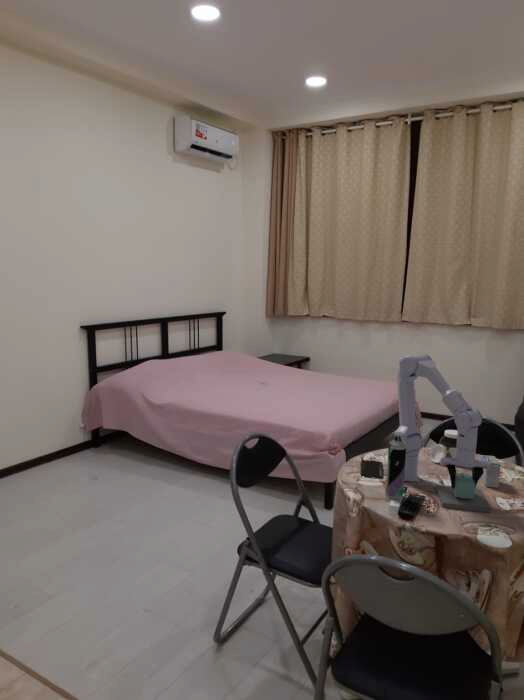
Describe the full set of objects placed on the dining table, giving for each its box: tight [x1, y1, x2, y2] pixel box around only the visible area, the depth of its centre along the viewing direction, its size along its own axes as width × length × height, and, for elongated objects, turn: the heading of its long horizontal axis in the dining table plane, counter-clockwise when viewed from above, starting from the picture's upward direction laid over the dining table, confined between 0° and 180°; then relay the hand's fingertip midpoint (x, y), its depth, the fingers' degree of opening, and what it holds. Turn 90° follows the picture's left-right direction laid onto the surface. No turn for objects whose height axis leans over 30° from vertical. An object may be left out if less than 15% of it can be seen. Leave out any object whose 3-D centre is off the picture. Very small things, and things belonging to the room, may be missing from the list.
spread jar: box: [429, 429, 458, 464], centre depth 194 cm, size 12×11×12 cm
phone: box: [359, 459, 384, 479], centre depth 185 cm, size 8×1×15 cm
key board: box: [435, 484, 492, 513], centre depth 160 cm, size 14×14×5 cm
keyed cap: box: [452, 472, 476, 499], centre depth 160 cm, size 5×8×5 cm
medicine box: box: [480, 455, 501, 489], centre depth 174 cm, size 8×4×9 cm, turn 168°
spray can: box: [385, 435, 406, 500], centre depth 162 cm, size 6×6×20 cm
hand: (462, 488), depth 160 cm, fingers closed on keyed cap, 5 cm apart
